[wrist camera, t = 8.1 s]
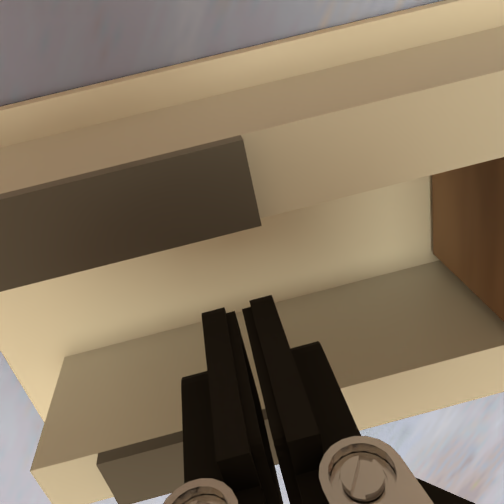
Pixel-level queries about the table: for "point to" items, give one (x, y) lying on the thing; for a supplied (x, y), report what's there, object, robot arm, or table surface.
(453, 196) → the block
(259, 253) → the chute
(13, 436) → the table surface
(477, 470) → the table surface
